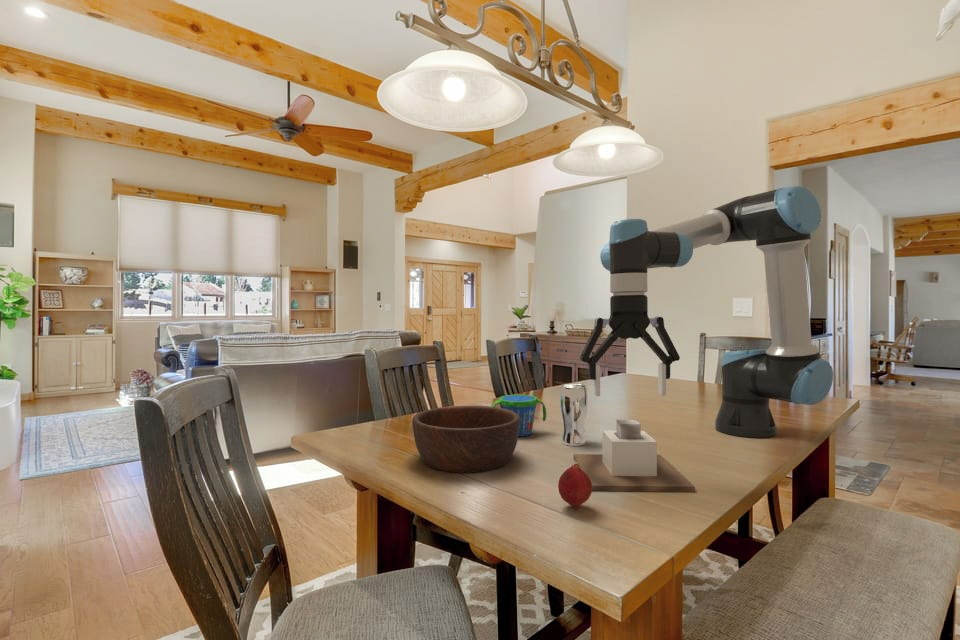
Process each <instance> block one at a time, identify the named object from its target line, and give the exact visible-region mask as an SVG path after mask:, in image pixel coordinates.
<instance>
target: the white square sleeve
mask: <svg viewBox="0 0 960 640" xmlns="http://www.w3.org/2000/svg"><path fill="white" fill-rule="evenodd" d="M616 432H617V430H602V454H603V463H604V465H605V466H606V468H607V469H608V471H609V472H610V474H611V475H612V476H657V455H658V441H656V440H655V439H654V438H653V437H652V436H650V435H649V433H647V432H646V431H645V430H641V439H619V438H618V437H617V436H616Z"/></svg>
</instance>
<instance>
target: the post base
mask: <svg viewBox="0 0 960 640" xmlns="http://www.w3.org/2000/svg"><path fill="white" fill-rule="evenodd" d="M641 429H642V428H641V423H640V422H639V421H637V420H636V419H616V431H617V432H616V436H617V437H618V438H619V439H641V431H642V430H641ZM573 460H574V463H575V462H576V463H577V462H578V463H579V464H580V466H579V468H580V469H582V470H583V471H584V472H585V473H586V474H587V475H588V477H589V478H590V480H591V483H592V492H594V491H595V492H596V491H597V492H598V491H599V492H678V493H679V492H680V493H681V492H685V493H686V492H688V493H690V492H692V493H693V492H696V487H695V485H694V484H693V483H692V482H691V481H690V480H688V478H686V477H685V476H684V475H683V474H682V473H681V472H680V471H679V470H678V469H677V468H675V467H674V465H673V464H671V463H670V462H669V461H668V460H667V459H666V458H665V457H664V456H663V455H661V454H657V476H612V475H611V474H610V472H609V471H608V469H607V468H606V466H605V465H604V463H603V453H602V454H600V453H599V454H597V453H596V454H595V453H593V454H592V453H589V454H588V453H587V454H586V453H581V454H580V453H574V454H573Z"/></svg>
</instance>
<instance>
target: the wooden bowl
mask: <svg viewBox="0 0 960 640" xmlns="http://www.w3.org/2000/svg"><path fill="white" fill-rule="evenodd" d="M411 422H412V423H411V424H412V430H413V432H412V433H413V436H414V442H415V446H416V448H417V452H418V454H419V455H420V458H421V459H422V461H423V462H424V463H425V465H428V466H429V467H431V468H433V469H436V470H439V471H443V472H449V473H450V472H451V473H479V472H486V471H490V470H495V469H497V468H500V467H503V466H504V465H506V464H507V463H508V462H509V461H510V459H511V458H512V456H513V454H514V452H515V449H516V447H517V443H518V438H519V436H518V434H519V426H520V417H519V415H518V414H516V413H515V412H513V411H510V410H507V409H503V408H501V407H496V406H495V407H492V406H486V405H451V406H450V405H449V406H440V407H435V408H429V409H426V410H423V411H420V412H418V413H417V414H415V415H414V416H413V417H412V419H411Z"/></svg>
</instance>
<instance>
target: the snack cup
mask: <svg viewBox="0 0 960 640" xmlns="http://www.w3.org/2000/svg"><path fill="white" fill-rule="evenodd" d="M538 403H540V404H541V405H542V422H545V421H546V419H547V407H546V405H545V404H544V402H543V401H542V400H541V399H539V398H538V397H537V396H536V395H531V394H507V395H506V394H505V395H502V396H500V397H499V399H497V400H495V401H494V402H493V404H492V406H491V407H496V406H497V405H498V404H499V406H500V407H499V408H503V409H507V410H510V411H513V412H515V413H516V414H518V415H519V417H520V426H519V434H518V437H525V436H527V437H528V436H530V435H531V434H532V433H533V429H534V422H535V412H536V408H537V404H538Z"/></svg>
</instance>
